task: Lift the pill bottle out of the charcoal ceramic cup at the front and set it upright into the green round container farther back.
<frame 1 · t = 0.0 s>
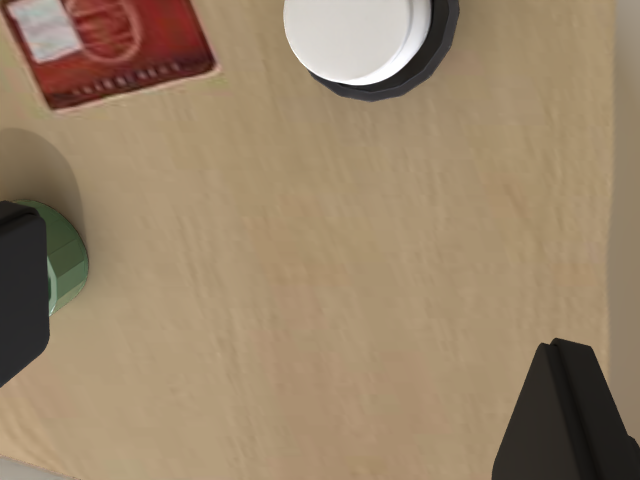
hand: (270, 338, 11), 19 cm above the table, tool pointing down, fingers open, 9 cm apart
green round container: (37, 253, 35), on the table
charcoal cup: (379, 13, 26), on the table
pill bottle: (378, 13, 25), resting on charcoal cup
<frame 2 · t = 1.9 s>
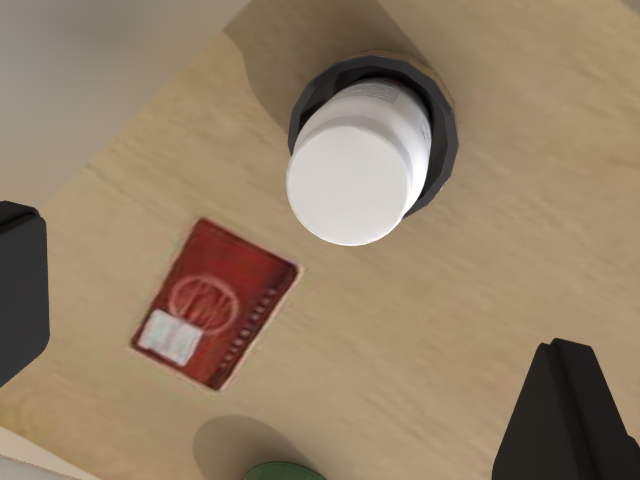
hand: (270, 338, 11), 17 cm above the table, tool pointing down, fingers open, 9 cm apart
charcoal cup: (379, 129, 26), on the table
pill bottle: (378, 129, 26), resting on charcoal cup
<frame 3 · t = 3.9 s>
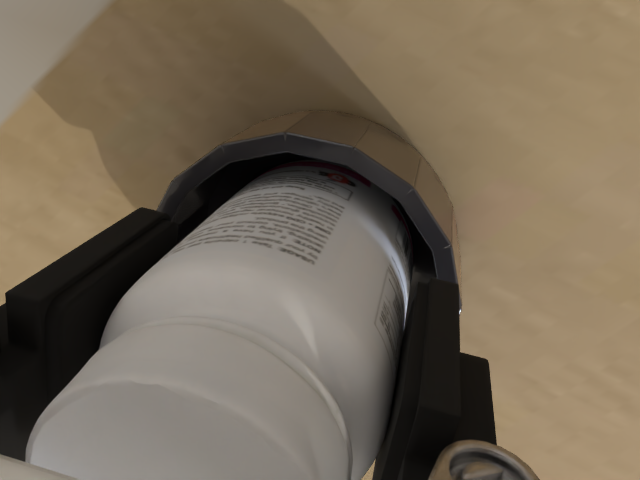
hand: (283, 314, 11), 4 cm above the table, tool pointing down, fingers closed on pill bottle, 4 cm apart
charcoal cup: (322, 243, 15), on the table
pill bottle: (320, 246, 15), resting on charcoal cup, touching gripper
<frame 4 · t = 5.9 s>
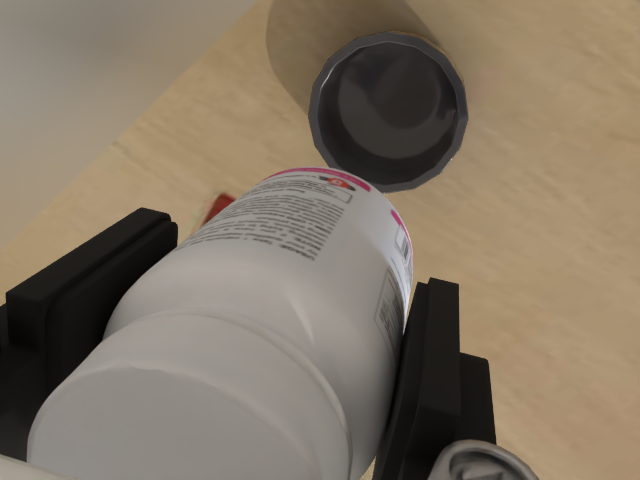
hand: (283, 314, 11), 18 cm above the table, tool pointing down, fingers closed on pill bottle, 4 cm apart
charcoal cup: (392, 106, 28), on the table
pill bottle: (321, 252, 15), point 15 cm above the table, touching gripper
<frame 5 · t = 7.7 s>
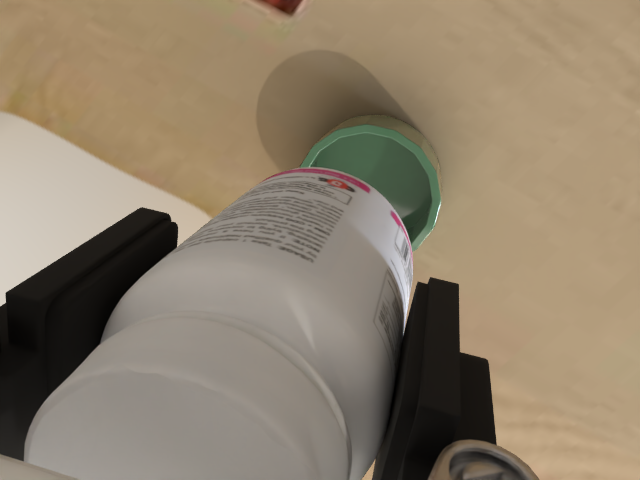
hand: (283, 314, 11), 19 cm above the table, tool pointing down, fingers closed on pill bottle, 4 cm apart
green round container: (373, 181, 30), on the table
pill bottle: (321, 253, 15), point 15 cm above the table, touching gripper
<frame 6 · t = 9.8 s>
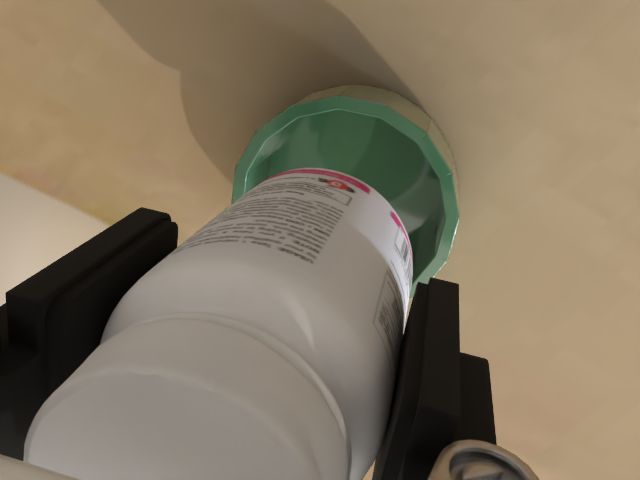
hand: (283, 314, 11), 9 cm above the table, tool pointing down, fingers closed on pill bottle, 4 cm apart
green round container: (355, 185, 20), on the table
pill bottle: (320, 254, 15), point 6 cm above the table, touching gripper
when the fingers open (4 cm above the table, at t = 11.4 s): pill bottle stays where it is, resting on green round container.
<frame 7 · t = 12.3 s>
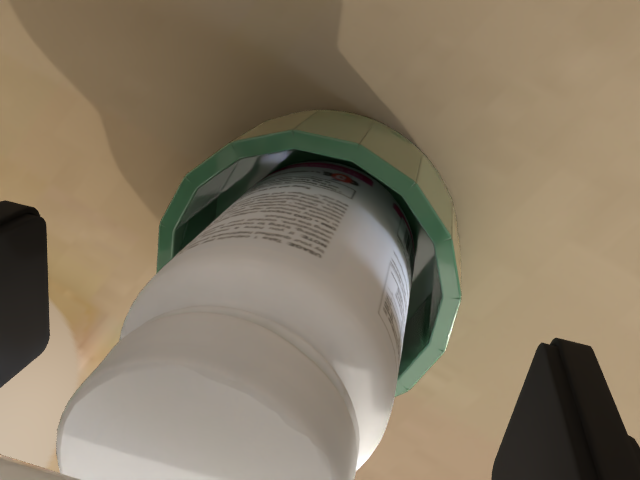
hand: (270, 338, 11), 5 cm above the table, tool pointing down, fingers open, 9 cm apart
green round container: (327, 238, 15), on the table
pill bottle: (325, 243, 15), resting on green round container
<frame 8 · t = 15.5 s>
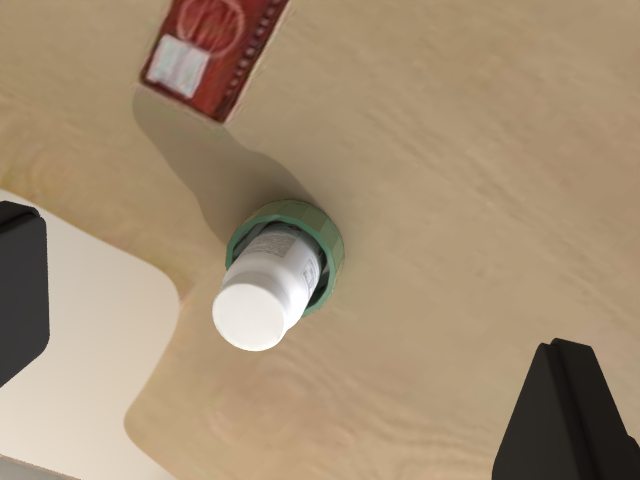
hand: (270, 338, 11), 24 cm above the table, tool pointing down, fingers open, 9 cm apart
green round container: (292, 249, 37), on the table
pill bottle: (291, 252, 37), resting on green round container
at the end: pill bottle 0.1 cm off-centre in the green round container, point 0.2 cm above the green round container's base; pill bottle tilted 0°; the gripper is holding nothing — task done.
